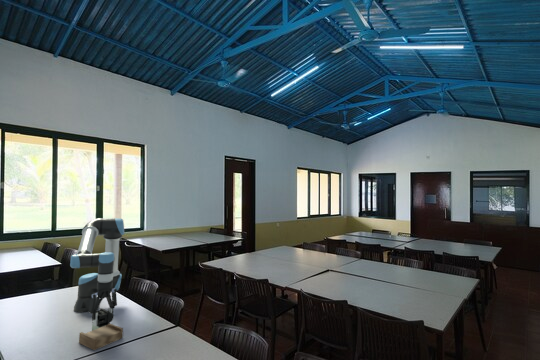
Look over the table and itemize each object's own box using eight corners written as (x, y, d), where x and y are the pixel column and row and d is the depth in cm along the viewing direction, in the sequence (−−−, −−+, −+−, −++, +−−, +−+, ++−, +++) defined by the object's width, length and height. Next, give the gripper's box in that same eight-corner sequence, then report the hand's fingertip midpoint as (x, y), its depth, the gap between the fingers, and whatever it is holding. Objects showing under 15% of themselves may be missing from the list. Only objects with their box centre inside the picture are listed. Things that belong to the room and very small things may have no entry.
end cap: (113, 323, 166) (113, 311, 166) (99, 327, 160) (100, 314, 161) (104, 318, 172) (105, 306, 172) (91, 322, 166) (92, 310, 167)
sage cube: (98, 328, 180) (98, 320, 180) (105, 330, 179) (105, 321, 179) (91, 332, 175) (92, 323, 175) (98, 333, 174) (99, 324, 174)
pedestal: (107, 331, 176) (107, 322, 176) (122, 338, 169) (122, 328, 170) (78, 343, 162) (79, 332, 162) (94, 350, 155) (95, 339, 156)
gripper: (117, 275, 178) (115, 315, 177) (82, 284, 160) (79, 327, 159) (125, 277, 175) (123, 317, 173) (90, 286, 157) (87, 331, 155)
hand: (102, 322), depth 166 cm, fingers closed on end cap, 8 cm apart
